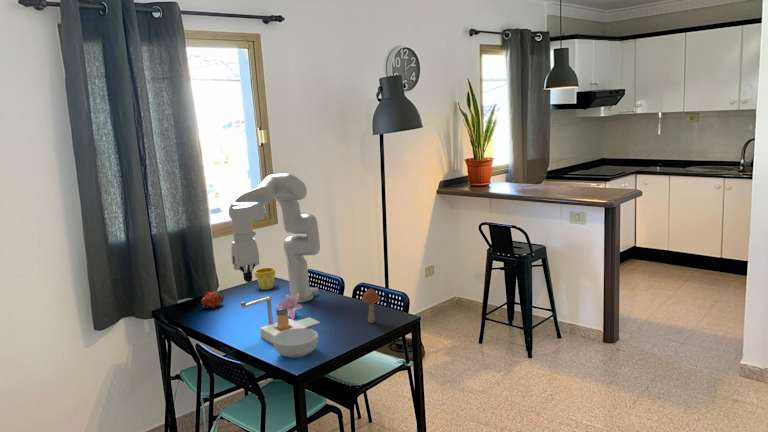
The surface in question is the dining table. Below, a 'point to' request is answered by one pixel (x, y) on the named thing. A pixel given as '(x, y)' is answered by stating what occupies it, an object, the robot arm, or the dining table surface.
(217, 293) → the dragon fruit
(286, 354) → the cereal bowl
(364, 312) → the dining table surface
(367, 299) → the mushroom
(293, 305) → the lily
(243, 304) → the grey ball-jointed lever
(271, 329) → the socket block
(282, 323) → the plug
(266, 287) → the plant pot
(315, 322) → the pad
